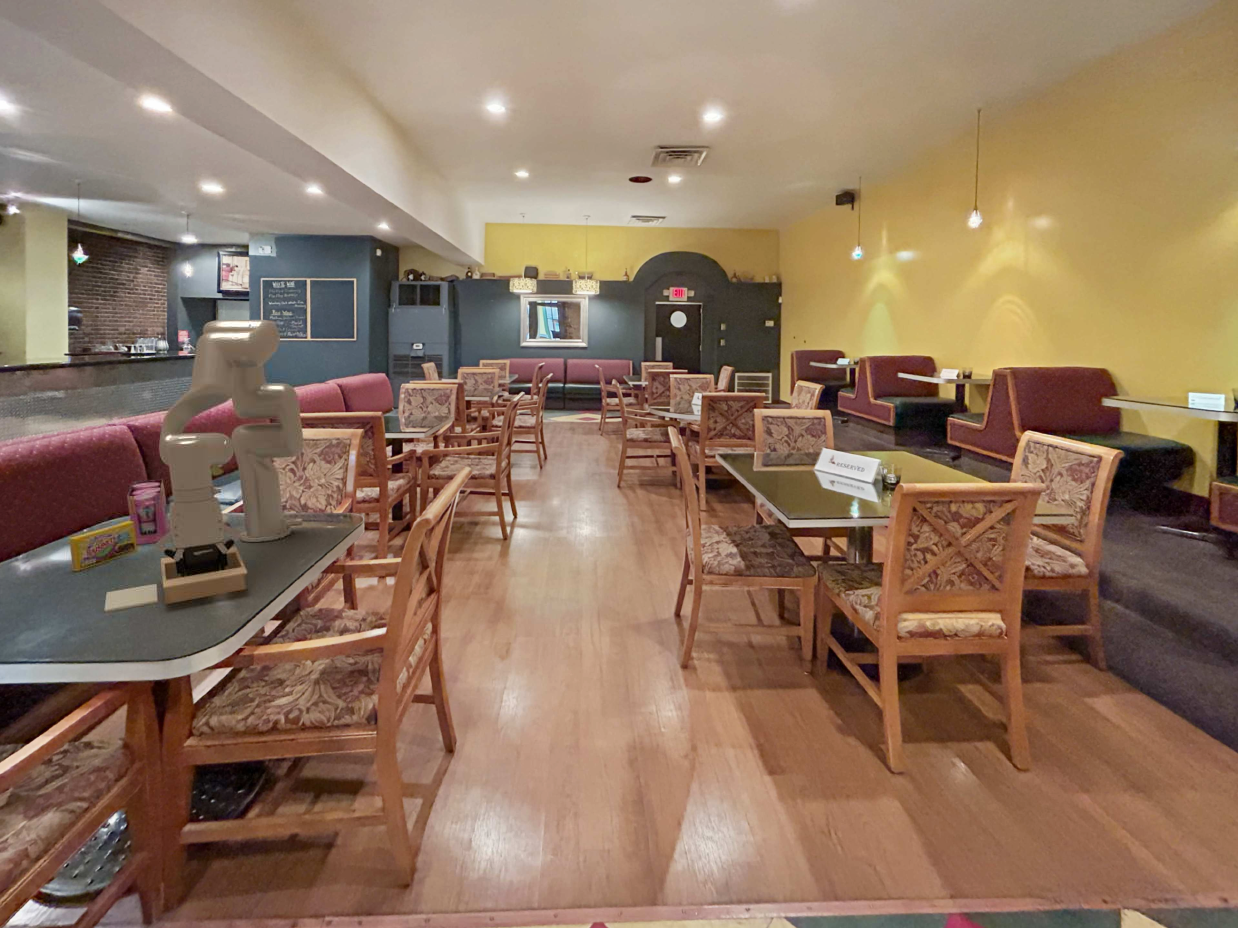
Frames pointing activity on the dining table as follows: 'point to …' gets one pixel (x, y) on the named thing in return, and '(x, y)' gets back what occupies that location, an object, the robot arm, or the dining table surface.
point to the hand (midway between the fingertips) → (203, 572)
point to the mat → (131, 597)
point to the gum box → (148, 511)
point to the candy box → (102, 545)
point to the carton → (203, 580)
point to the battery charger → (201, 559)
